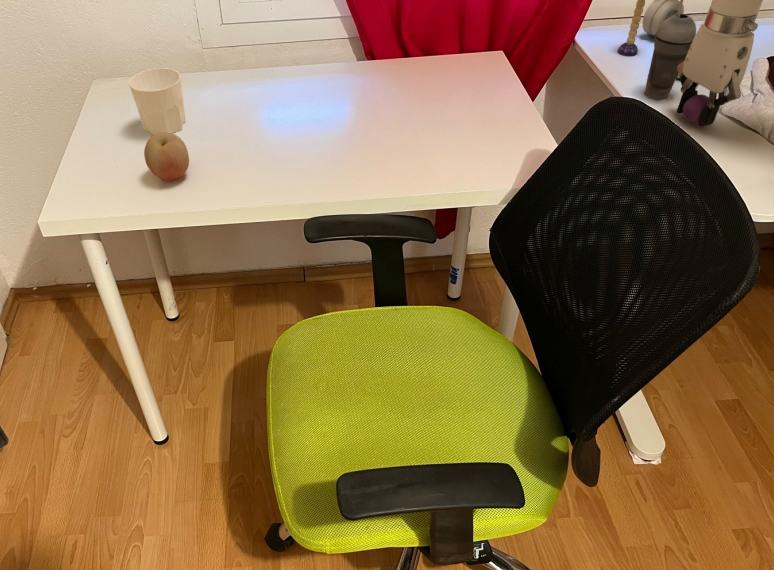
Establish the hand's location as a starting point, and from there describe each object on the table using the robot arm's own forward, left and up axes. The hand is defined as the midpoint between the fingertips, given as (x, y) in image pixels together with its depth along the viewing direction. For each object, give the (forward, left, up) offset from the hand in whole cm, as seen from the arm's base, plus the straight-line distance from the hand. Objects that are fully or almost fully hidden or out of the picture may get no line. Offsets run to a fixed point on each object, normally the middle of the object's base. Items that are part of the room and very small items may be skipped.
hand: (694, 117), depth 131 cm
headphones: (+27, -22, -1) cm, 35 cm away
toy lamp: (+31, -10, -1) cm, 33 cm away
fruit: (+25, +97, -1) cm, 100 cm away
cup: (+44, +94, -1) cm, 104 cm away
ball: (0, 0, +2) cm, 2 cm away
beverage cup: (+12, -2, -1) cm, 12 cm away
